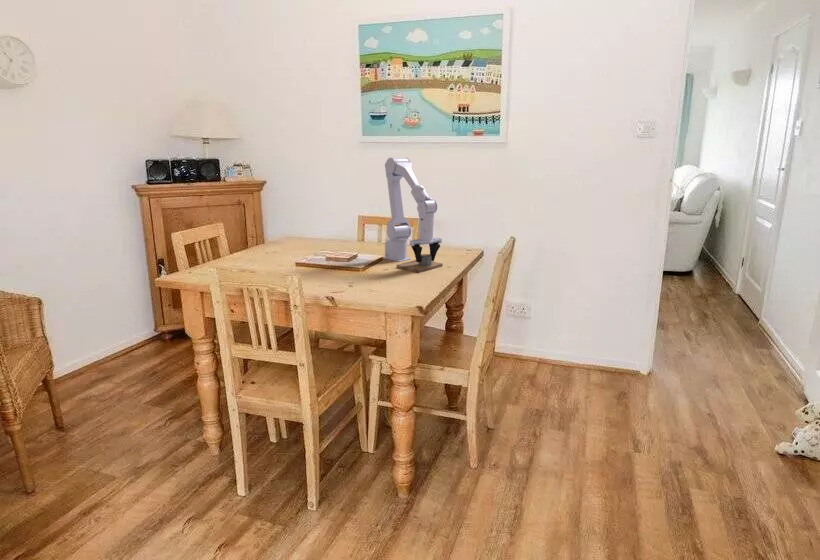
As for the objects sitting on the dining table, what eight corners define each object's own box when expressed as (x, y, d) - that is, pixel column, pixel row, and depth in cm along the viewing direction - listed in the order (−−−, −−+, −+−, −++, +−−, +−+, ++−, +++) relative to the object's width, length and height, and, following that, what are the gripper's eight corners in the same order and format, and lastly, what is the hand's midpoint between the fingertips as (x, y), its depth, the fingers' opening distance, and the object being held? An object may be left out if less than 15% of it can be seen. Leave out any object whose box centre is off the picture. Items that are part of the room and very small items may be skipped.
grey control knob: (423, 266, 232) (423, 256, 231) (417, 263, 236) (417, 254, 235) (433, 265, 234) (433, 255, 233) (427, 262, 238) (427, 253, 237)
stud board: (396, 267, 234) (396, 258, 233) (420, 261, 246) (420, 252, 245) (419, 272, 226) (419, 263, 225) (442, 266, 238) (442, 257, 237)
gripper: (416, 231, 224) (415, 265, 228) (446, 229, 232) (444, 261, 235) (407, 229, 230) (406, 261, 234) (437, 226, 237) (435, 258, 241)
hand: (425, 261), depth 235 cm, fingers open, 6 cm apart
